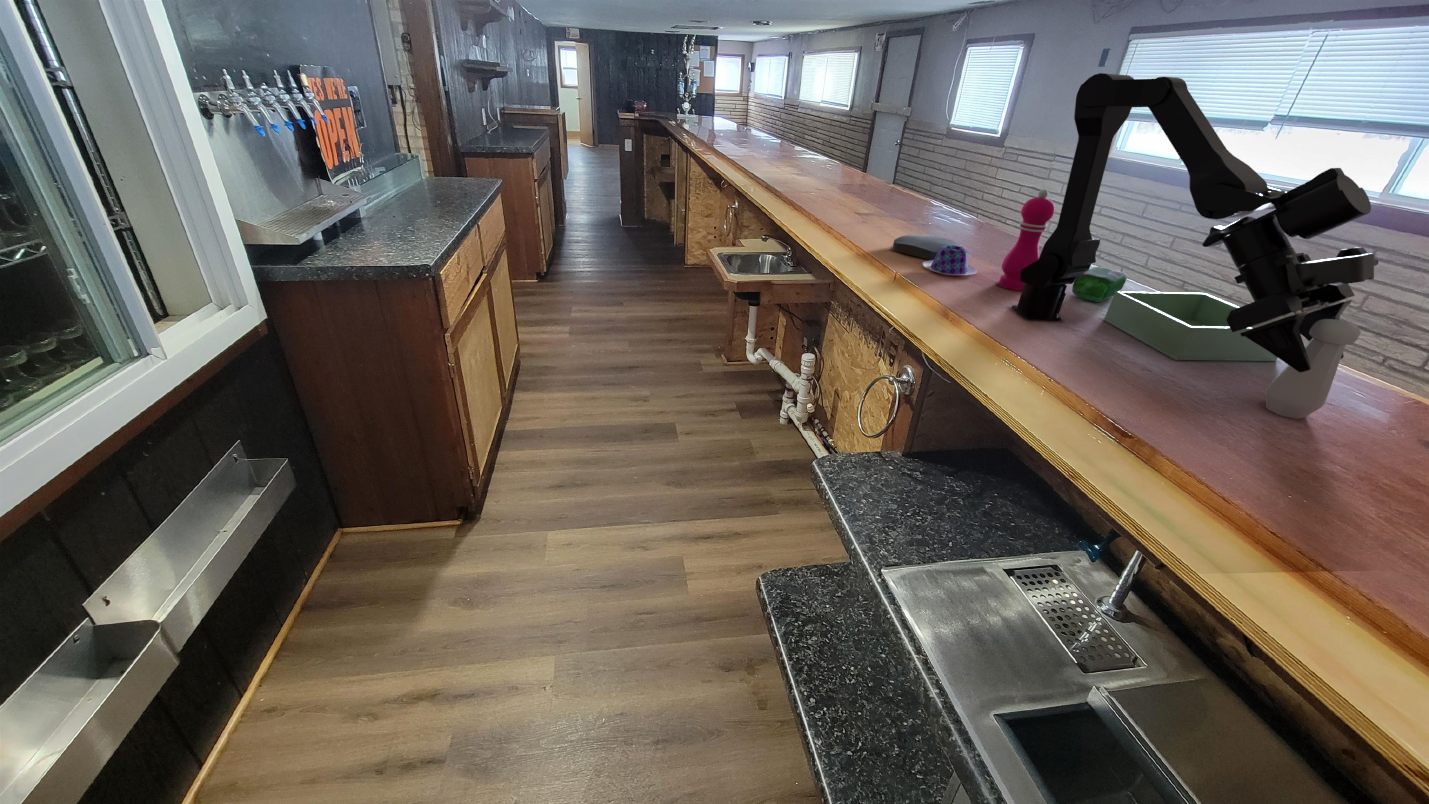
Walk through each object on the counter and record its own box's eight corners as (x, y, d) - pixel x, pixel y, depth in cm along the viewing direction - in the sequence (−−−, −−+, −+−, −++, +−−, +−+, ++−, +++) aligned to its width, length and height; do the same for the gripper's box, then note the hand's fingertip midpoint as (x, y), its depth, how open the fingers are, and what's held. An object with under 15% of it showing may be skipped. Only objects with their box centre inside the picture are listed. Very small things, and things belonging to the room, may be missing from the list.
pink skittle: (1034, 285, 123) (1066, 189, 113) (1030, 294, 118) (1063, 194, 108) (999, 279, 127) (1026, 185, 117) (993, 287, 121) (1022, 189, 111)
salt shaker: (1299, 405, 79) (1356, 318, 72) (1323, 425, 74) (1385, 334, 68) (1249, 397, 80) (1300, 311, 74) (1269, 417, 76) (1325, 326, 69)
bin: (1175, 360, 91) (1191, 327, 88) (1103, 319, 106) (1115, 291, 103) (1275, 361, 92) (1294, 329, 89) (1190, 321, 107) (1204, 292, 105)
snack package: (1125, 293, 121) (1135, 269, 119) (1100, 307, 112) (1110, 282, 110) (1089, 285, 126) (1098, 261, 123) (1062, 298, 117) (1071, 273, 114)
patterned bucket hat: (951, 261, 138) (956, 240, 135) (987, 276, 128) (994, 253, 126) (911, 265, 134) (915, 242, 131) (945, 280, 124) (951, 256, 122)
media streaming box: (886, 250, 145) (888, 238, 144) (915, 242, 154) (917, 231, 152) (938, 263, 136) (941, 251, 135) (966, 254, 145) (969, 242, 143)
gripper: (1308, 229, 65) (1378, 353, 62) (1376, 219, 73) (1442, 330, 69) (1201, 276, 75) (1257, 385, 72) (1270, 264, 83) (1324, 362, 79)
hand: (1322, 365), depth 73 cm, fingers open, 9 cm apart
